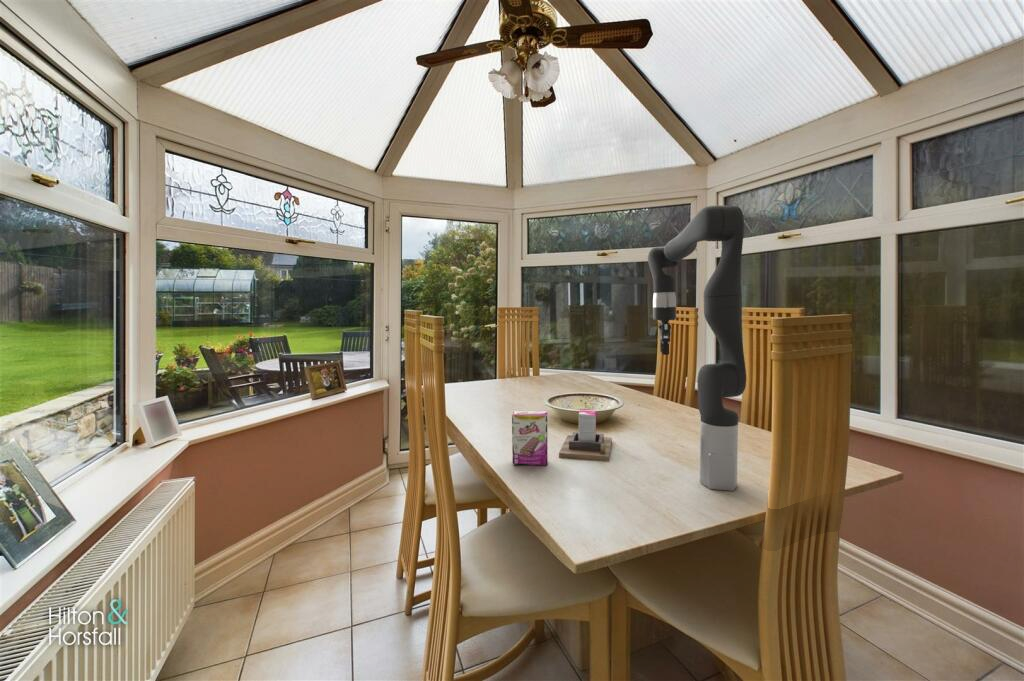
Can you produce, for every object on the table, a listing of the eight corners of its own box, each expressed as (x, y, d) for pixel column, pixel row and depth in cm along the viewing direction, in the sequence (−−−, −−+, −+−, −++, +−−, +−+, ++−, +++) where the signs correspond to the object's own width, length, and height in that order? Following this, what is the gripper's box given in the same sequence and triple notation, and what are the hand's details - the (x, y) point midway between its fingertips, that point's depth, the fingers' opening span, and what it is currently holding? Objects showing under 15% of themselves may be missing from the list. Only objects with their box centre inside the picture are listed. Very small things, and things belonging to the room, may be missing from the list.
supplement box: (595, 448, 145) (595, 414, 144) (577, 446, 146) (577, 414, 145) (596, 442, 151) (596, 410, 150) (579, 441, 152) (579, 409, 151)
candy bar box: (512, 465, 135) (511, 414, 133) (513, 460, 140) (512, 410, 138) (548, 466, 134) (547, 414, 132) (548, 460, 138) (547, 410, 137)
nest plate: (608, 461, 137) (608, 447, 136) (559, 457, 141) (558, 443, 141) (611, 441, 156) (611, 429, 156) (568, 438, 160) (567, 427, 160)
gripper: (651, 306, 154) (652, 351, 155) (653, 306, 141) (654, 355, 142) (674, 306, 152) (674, 351, 153) (678, 305, 139) (678, 355, 140)
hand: (664, 353), depth 147 cm, fingers open, 8 cm apart
